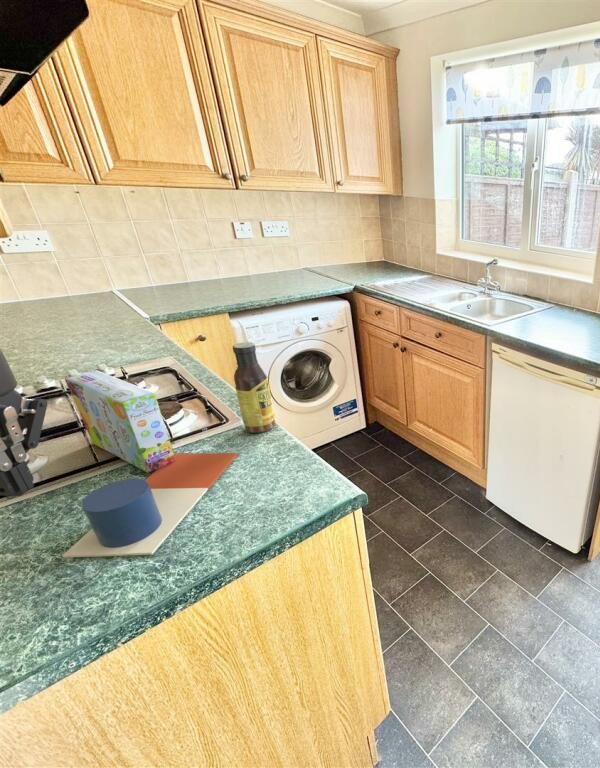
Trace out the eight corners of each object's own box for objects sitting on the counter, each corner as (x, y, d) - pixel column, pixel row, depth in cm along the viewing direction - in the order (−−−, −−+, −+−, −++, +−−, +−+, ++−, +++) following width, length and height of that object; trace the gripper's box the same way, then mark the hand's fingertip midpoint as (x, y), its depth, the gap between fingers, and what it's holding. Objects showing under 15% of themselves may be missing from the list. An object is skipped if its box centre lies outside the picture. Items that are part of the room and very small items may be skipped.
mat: (62, 557, 61) (61, 555, 61) (174, 455, 84) (174, 453, 84) (152, 554, 62) (151, 552, 62) (237, 454, 86) (237, 453, 86)
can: (85, 548, 62) (66, 512, 59) (123, 513, 69) (108, 478, 66) (141, 547, 63) (125, 511, 60) (172, 511, 70) (160, 478, 67)
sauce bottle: (271, 434, 93) (253, 350, 85) (240, 435, 92) (219, 350, 84) (280, 419, 99) (264, 340, 91) (252, 420, 98) (233, 340, 90)
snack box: (180, 459, 83) (156, 391, 76) (147, 475, 78) (118, 403, 72) (123, 431, 91) (96, 367, 84) (90, 444, 86) (59, 377, 80)
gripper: (-29, 333, 47) (35, 459, 55) (-195, 382, 36) (-85, 535, 43) (45, 335, 48) (98, 459, 56) (-93, 383, 36) (-2, 532, 44)
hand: (18, 492), depth 49 cm, fingers closed
